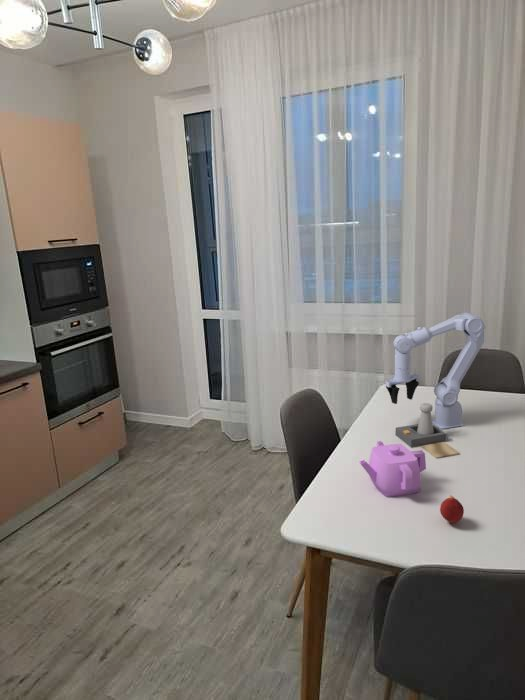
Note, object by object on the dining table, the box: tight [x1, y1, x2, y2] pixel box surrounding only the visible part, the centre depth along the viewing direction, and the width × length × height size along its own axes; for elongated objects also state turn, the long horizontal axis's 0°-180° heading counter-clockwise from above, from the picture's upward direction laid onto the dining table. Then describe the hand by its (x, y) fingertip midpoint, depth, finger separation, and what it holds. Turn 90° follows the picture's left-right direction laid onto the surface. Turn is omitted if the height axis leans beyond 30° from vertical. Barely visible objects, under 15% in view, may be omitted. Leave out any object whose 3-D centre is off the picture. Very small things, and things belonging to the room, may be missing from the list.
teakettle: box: [359, 440, 427, 498], centre depth 149 cm, size 17×17×12 cm
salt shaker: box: [417, 402, 434, 436], centre depth 178 cm, size 6×6×13 cm
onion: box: [439, 494, 465, 524], centre depth 129 cm, size 6×6×8 cm
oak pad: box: [421, 442, 461, 459], centre depth 169 cm, size 9×9×1 cm
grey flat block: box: [395, 423, 447, 448], centre depth 179 cm, size 14×11×4 cm
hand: (402, 400), depth 188 cm, fingers open, 7 cm apart
